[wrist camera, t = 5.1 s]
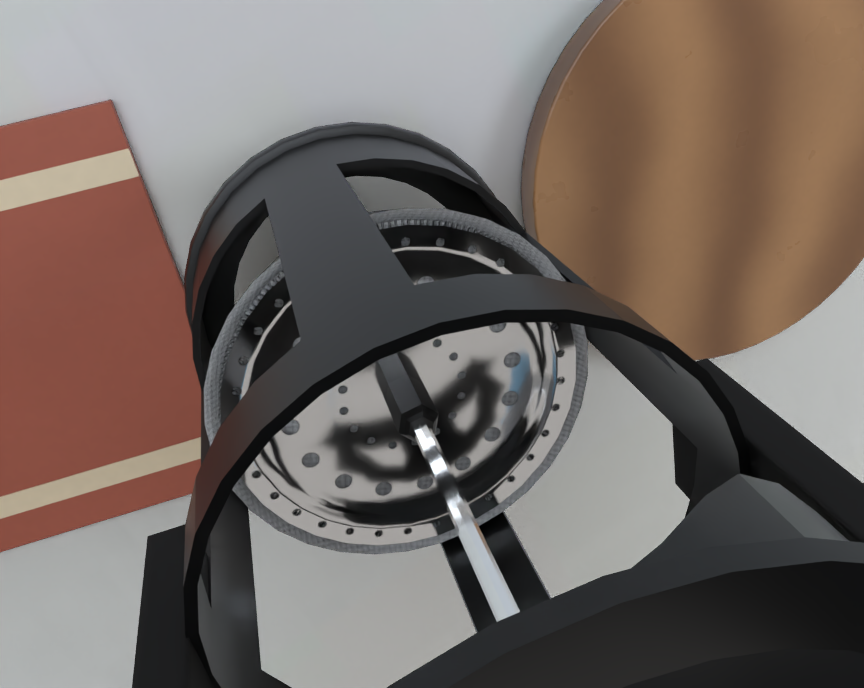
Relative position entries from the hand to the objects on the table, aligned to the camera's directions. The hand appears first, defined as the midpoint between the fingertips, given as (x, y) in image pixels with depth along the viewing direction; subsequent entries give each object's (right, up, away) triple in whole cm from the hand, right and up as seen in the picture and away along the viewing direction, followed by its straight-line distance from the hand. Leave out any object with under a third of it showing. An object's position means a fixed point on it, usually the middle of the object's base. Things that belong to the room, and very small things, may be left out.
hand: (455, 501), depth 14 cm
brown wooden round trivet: (+9, +9, +12) cm, 18 cm away
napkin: (-14, +2, +9) cm, 17 cm away
